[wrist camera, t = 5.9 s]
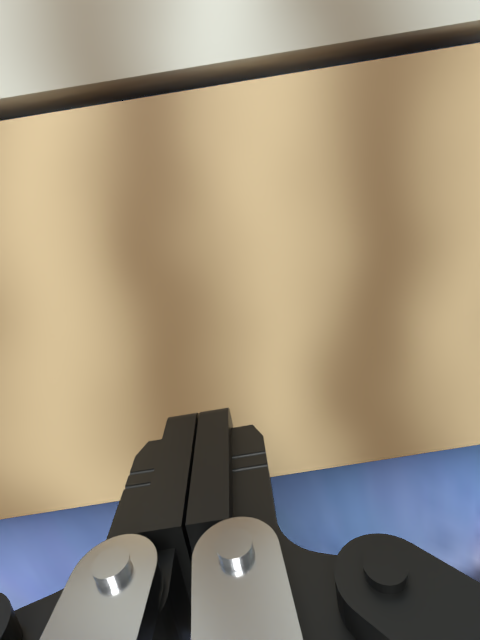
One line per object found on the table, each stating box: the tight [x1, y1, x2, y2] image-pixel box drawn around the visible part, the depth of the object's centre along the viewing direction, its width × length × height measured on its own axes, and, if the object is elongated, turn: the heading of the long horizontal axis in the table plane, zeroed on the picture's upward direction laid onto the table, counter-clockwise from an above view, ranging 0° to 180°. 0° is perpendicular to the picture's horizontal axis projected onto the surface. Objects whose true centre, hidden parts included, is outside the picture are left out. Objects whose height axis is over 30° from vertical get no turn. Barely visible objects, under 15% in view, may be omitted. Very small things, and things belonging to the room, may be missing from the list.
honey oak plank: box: [0, 43, 480, 519], centre depth 13 cm, size 22×12×2 cm, turn 99°
